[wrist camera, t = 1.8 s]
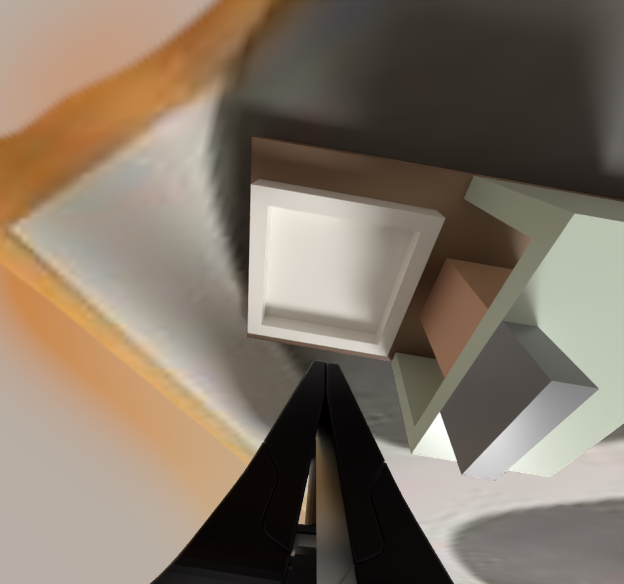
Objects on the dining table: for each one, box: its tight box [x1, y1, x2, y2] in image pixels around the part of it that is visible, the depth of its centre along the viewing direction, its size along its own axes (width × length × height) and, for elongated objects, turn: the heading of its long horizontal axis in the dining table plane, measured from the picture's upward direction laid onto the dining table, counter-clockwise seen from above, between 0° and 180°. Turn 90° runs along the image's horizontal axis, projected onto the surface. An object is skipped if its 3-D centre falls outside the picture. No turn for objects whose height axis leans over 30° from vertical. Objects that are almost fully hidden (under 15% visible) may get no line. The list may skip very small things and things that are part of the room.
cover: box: [391, 176, 624, 481], centre depth 12 cm, size 12×7×8 cm, turn 172°
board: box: [247, 136, 624, 362], centre depth 16 cm, size 12×28×1 cm, turn 82°
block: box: [419, 258, 513, 378], centre depth 13 cm, size 4×4×5 cm
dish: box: [248, 179, 445, 357], centre depth 14 cm, size 9×9×1 cm
